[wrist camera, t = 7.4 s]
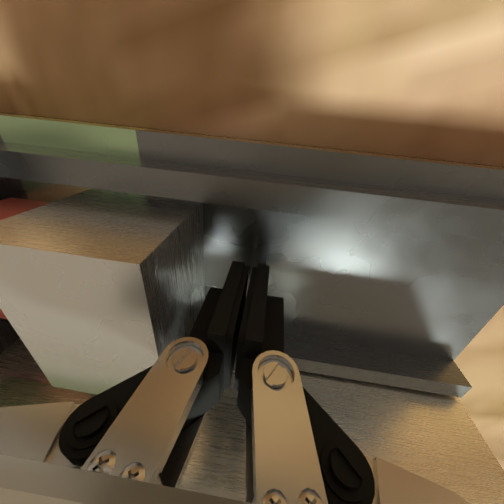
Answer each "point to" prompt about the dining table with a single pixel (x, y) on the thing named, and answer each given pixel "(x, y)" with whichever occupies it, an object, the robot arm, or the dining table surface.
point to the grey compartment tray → (308, 279)
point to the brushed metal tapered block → (102, 283)
